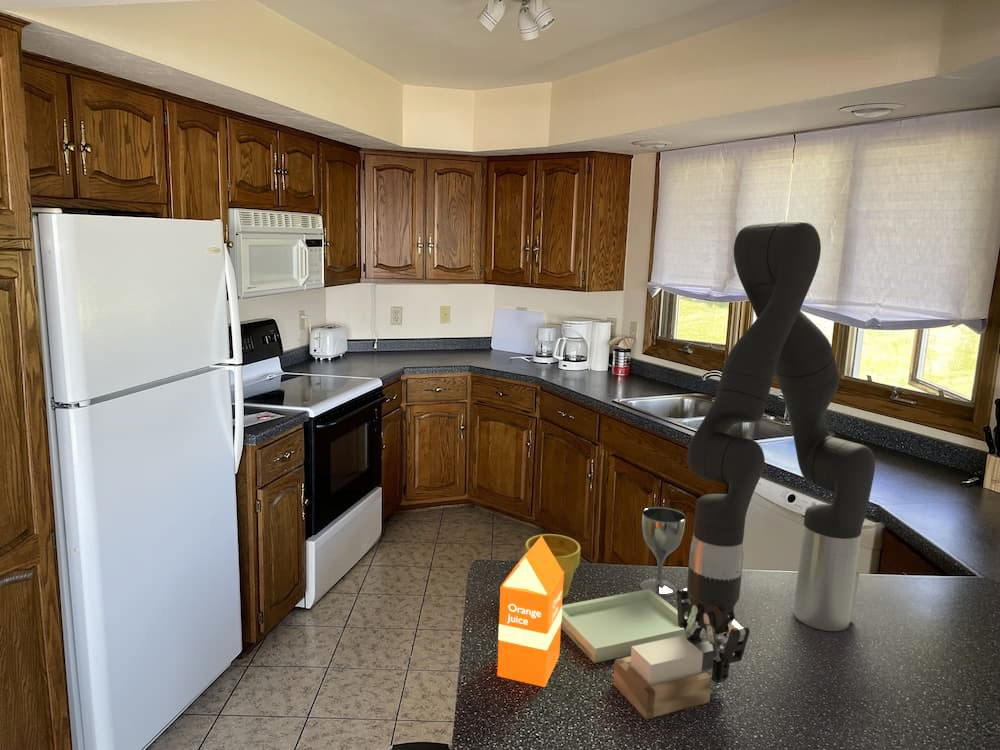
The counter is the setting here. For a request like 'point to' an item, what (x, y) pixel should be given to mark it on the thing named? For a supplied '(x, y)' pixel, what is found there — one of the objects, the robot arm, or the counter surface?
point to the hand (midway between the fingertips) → (705, 669)
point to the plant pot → (561, 555)
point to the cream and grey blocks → (671, 659)
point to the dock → (660, 691)
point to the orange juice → (531, 617)
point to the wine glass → (662, 542)
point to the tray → (619, 623)
